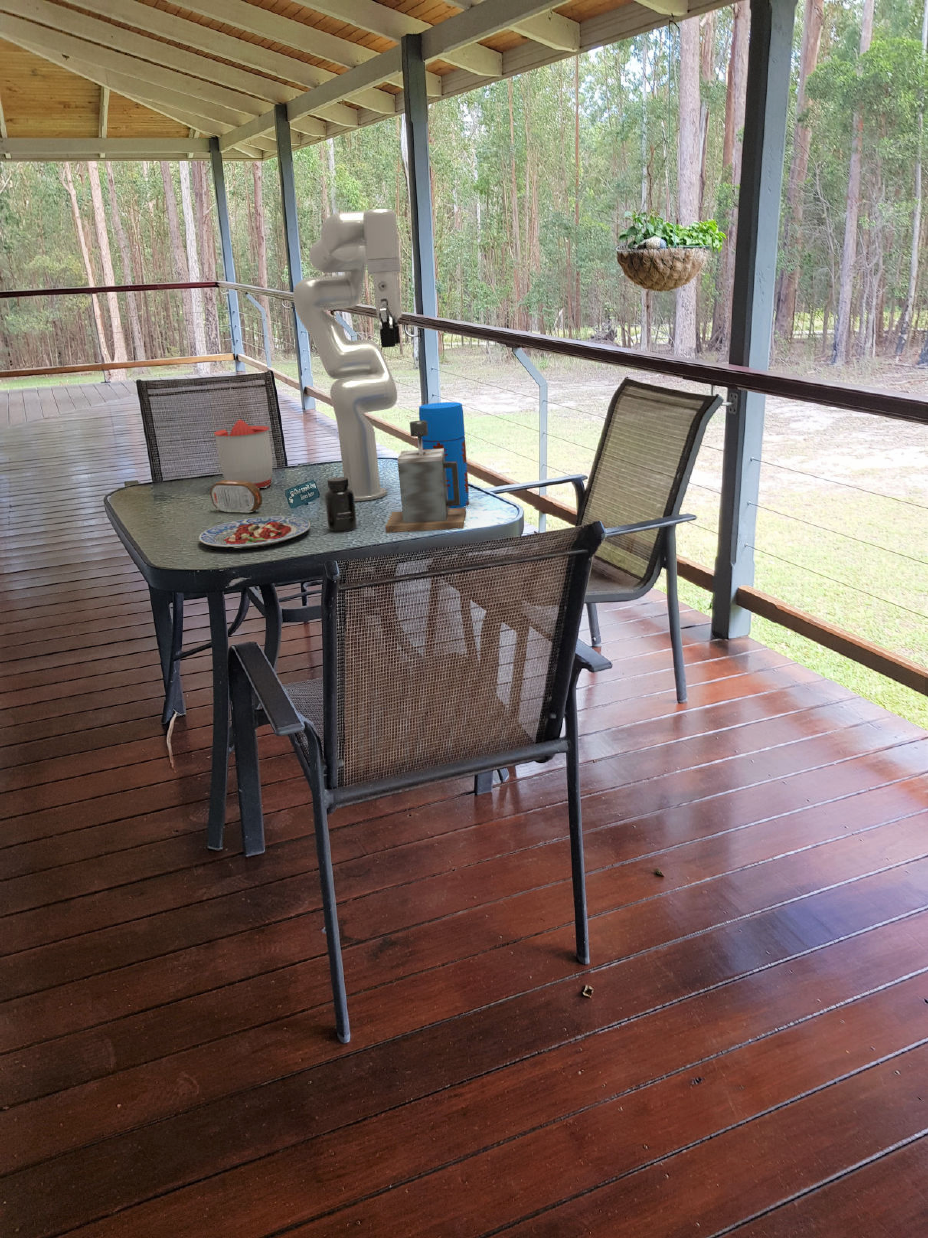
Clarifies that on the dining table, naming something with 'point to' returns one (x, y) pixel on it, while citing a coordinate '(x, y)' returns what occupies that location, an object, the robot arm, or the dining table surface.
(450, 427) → the thermos
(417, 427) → the grey rod with knob
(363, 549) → the dining table surface
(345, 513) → the supplement bottle
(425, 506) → the stand
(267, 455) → the citrus juicer
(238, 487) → the tin
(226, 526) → the ceramic plate
